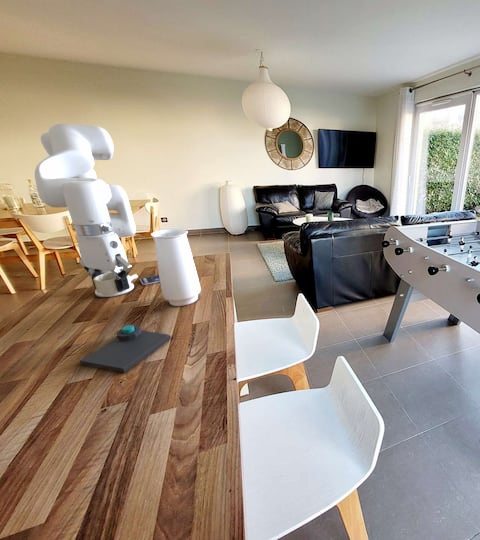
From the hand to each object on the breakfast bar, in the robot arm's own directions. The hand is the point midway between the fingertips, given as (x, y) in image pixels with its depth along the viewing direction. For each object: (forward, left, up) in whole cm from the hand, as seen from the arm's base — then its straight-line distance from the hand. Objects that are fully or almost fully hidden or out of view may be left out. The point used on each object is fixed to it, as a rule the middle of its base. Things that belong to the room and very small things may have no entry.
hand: (112, 288), depth 83 cm
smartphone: (-42, -26, -18) cm, 53 cm away
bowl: (0, 0, -1) cm, 1 cm away
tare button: (-1, 0, -16) cm, 16 cm away
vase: (-27, -2, -18) cm, 33 cm away
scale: (+4, +5, -18) cm, 19 cm away
